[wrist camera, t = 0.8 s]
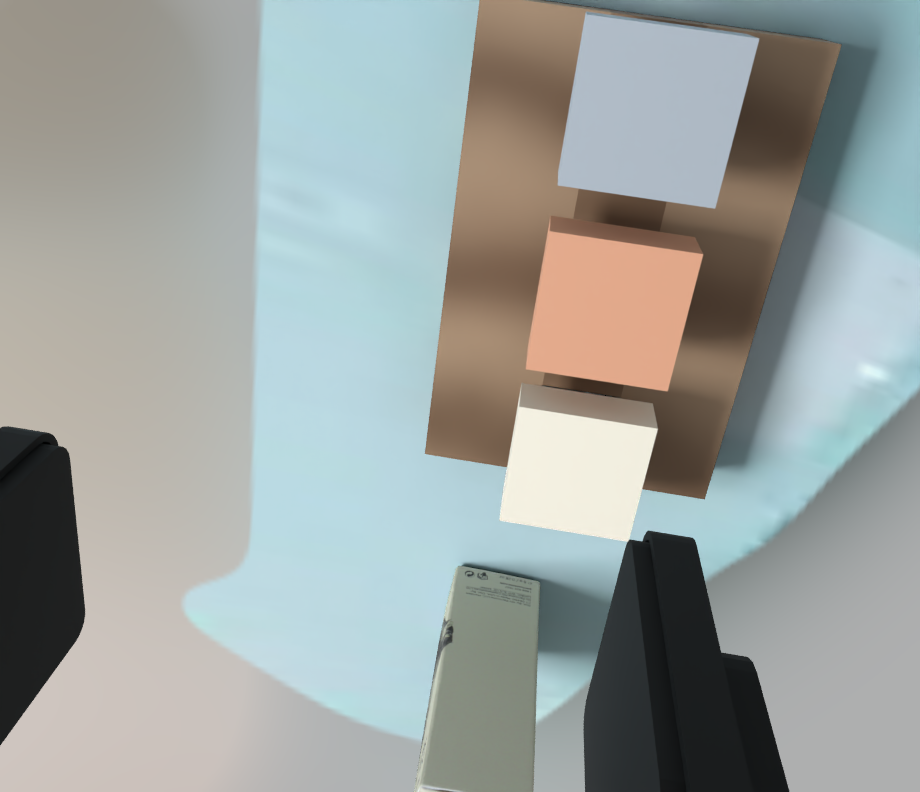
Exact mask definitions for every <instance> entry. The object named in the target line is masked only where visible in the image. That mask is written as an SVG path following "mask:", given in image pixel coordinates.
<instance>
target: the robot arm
mask: <svg viewBox="0 0 920 792" xmlns="http://www.w3.org/2000/svg"><path fill="white" fill-rule="evenodd" d="M84 617H85V604H84V594H83V584H82V575H81V564H80V554H79V544H78V534H77V525H76V515H75V505H74V495H73V486H72V475H71V465H70V457H69V453H68V451H67V450H66V449H65V448H64V447H60V446H58V442H57V440H56V438H55V437H54V436H53V435H52V434H50V433H45V432H39V431H33V430H27V429H21V428H14V427H2V428H0V745H1V744H2V742H3V741H4V740H5V738H6V737H7V735H8V734H9V733H10V731H11V730H12V729H13V727H14V726H15V724H16V723H17V722H18V720H19V719H20V717H21V716H22V715H23V713H24V712H25V711H26V709H27V708H28V706H29V705H30V704H31V702H32V701H33V700H34V698H35V697H36V695H37V694H38V693H39V691H40V690H41V688H42V687H43V686H44V684H45V683H46V681H47V680H48V679H49V677H50V676H51V675H52V673H53V672H54V671H55V669H56V668H57V666H58V665H59V664H60V662H61V661H62V660H63V658H64V657H65V655H66V654H67V653H68V651H69V650H70V649H71V647H72V646H73V644H74V643H75V642H76V640H77V638H78V637H79V635H80V632H81V630H82V627H83V623H84ZM584 758H585V759H584V761H585V792H789V789H788V785H787V781H786V778H785V774H784V770H783V767H782V763H781V759H780V756H779V752H778V749H777V745H776V741H775V737H774V734H773V730H772V726H771V723H770V719H769V715H768V712H767V708H766V704H765V701H764V697H763V693H762V690H761V686H760V682H759V679H758V675H757V672H756V669H755V667H754V664H753V662H752V661H751V660H750V659H749V658H748V657H744V656H738V655H732V654H726V653H721V650H720V646H719V642H718V638H717V633H716V628H715V624H714V620H713V615H712V611H711V606H710V602H709V598H708V593H707V589H706V585H705V580H704V576H703V571H702V567H701V563H700V558H699V554H698V550H697V545H696V542H695V540H694V539H693V538H690V537H684V536H678V535H672V534H666V533H659V532H653V531H648V532H646V534H645V536H644V538H643V541H642V542H641V541H635V540H629V541H628V543H627V545H626V548H625V552H624V555H623V559H622V563H621V567H620V571H619V575H618V579H617V583H616V586H615V590H614V594H613V598H612V602H611V606H610V610H609V614H608V618H607V621H606V625H605V629H604V633H603V637H602V641H601V645H600V649H599V652H598V656H597V660H596V664H595V668H594V672H593V676H592V680H591V683H590V687H589V691H588V695H587V700H586V706H585V713H584Z"/></svg>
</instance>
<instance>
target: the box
mask: <svg viewBox="0 0 920 792" xmlns="http://www.w3.org/2000/svg"><path fill="white" fill-rule="evenodd" d="M539 599H540V583H539V582H538V581H534V580H529V579H525V578H520V577H515V576H510V575H506V574H501V573H495V572H490V571H486V570H480V569H475V568H470V567H464V566H458V567H457V568H456V570H455V574H454V578H453V581H452V585H451V589H450V593H449V597H448V601H447V605H446V609H445V614H444V620H443V625H442V630H441V635H440V640H439V645H438V651H437V657H436V663H435V669H434V675H433V681H432V687H431V692H430V698H429V704H428V710H427V715H426V721H425V727H424V734H423V739H422V746H421V752H420V757H419V764H418V769H417V777H416V783H415V788H414V792H533V785H534V755H535V723H536V688H537V657H538V622H539Z"/></svg>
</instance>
